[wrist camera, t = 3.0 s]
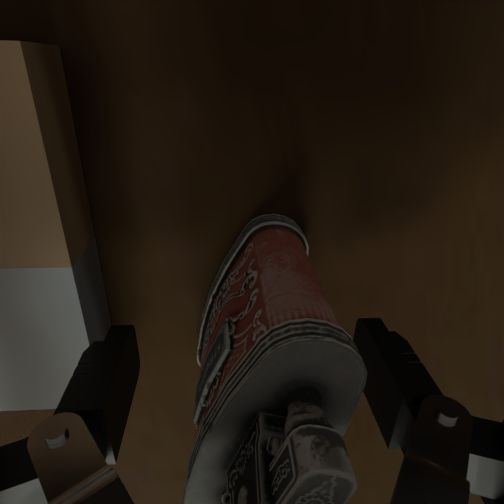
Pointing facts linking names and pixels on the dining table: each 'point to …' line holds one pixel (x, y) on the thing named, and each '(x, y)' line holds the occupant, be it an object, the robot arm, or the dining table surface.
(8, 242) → the tan flat square frame
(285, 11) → the dining table surface
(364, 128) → the dining table surface
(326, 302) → the lighter
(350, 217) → the dining table surface
